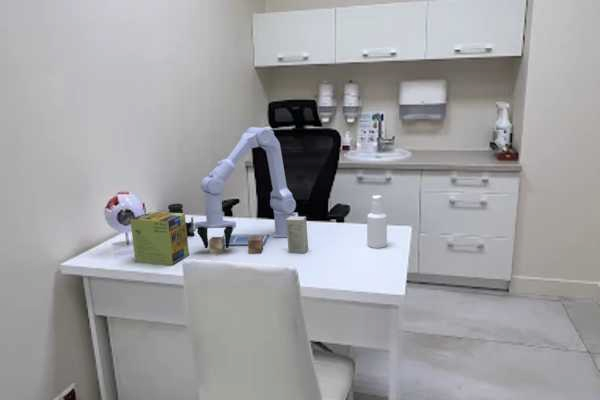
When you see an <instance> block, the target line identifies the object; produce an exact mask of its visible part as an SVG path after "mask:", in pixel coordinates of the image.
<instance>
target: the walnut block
mask: <svg viewBox="0 0 600 400" xmlns="http://www.w3.org/2000/svg"><path fill="white" fill-rule="evenodd" d="M247 247H248V248H247V249H248V254H250V255H261V254H263V251H264V246H263V236H250V238H249V239H248V246H247Z"/></svg>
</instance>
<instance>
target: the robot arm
mask: <svg viewBox="0 0 600 400" xmlns="http://www.w3.org/2000/svg"><path fill="white" fill-rule="evenodd" d="M259 147H260V148H262V149H263V150H265V152H266V158H267V163H268V169H269V175H270V180H271V186H272V191H271V192H270V200H269V201H270V202H269V205H270V207H271V209H273V216H274V217H273V218H274V233H273V236H272V237H273V238H287V226H286V219H287V218H289V217H290V216H297V217H299V213H298V212H294V211H295V210H296V207H297V203H296V200H295V199H294V197H293V193H292V192H291V191H290V190H289V188H288V186H287V180H286V179H287V178H286V174H285V169H284V161H283V155H282V149H281V144H280V141H279V140H278V138H277V137H276V136H275V132H274V130H272V129H270V128H268V127H258V126H257V127H256V126H250V127H248V128H247V129H246V131H245V132H244V133H243V134H242V136H241V138H240V140H239V141H238V143H237V144H236V146H235V147H234V148H233V150H232V151H231V152H230V154H228V156H227V158H225V159H224V158H223V159H221V160H218V161H217V163H216V164H217V165H216V166H215V167H214V169H213V170H212V171H210V172H209V173H208V176H205V177H204V178H203V179H202V180H201V184H200V186H199V187H200V189H201V190H202V191H203V196H204V206H205V216H206V220H205V221H196V222H194V228H195V229H196V233H197V235H198V236H199V238H201V241H202V243H203V246H204V248H205V249H207V248H209V240H208V239H209V238H208V229H224V230H223V233H224V234H223V235H225V240H226V246H225V249H228V248H229V247H230V246H229V243H230V237H231V235H233V234H232V233H233V231H234V229H235V228H237V222H236V221H230V220H224V217H223V205H222V194H221V193H222V192H223V190H224V184H225V182H226V181H227V180H228V179H229V177H230V176H231V175H232V174H233V173H234V171H235V170H236V167H235V166H236V164H237V163H238V162H239V160H240V159H242V157H243V156H244V155H245V154H246V153H247V152H248V151H249V150H250V149H254V148H259Z"/></svg>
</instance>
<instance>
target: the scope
mask: <svg viewBox="0 0 600 400" xmlns="http://www.w3.org/2000/svg"><path fill="white" fill-rule="evenodd" d="M183 207H184V206H183V204H182V203H172V204H169V205H168V206H167V208H168V213H184V210H183V209H184V208H183ZM194 224H195V222H194V217H193V216H192V217H190V221H189V222H186V230H187V238H189V237H193V236H195V232H197V229H195V227H194Z"/></svg>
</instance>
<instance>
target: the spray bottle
mask: <svg viewBox="0 0 600 400" xmlns="http://www.w3.org/2000/svg"><path fill="white" fill-rule="evenodd" d="M387 221H388V216H387V214H386V213H384V209H383V196H382V195H371V206H370V213H368V214H367V216H366V226H367V227H366V231H367V232H366V233H367V235H366V236H367V240H366V241H367V246H368V247H370V248H373V249H382V248H385V247H387V245H388V244H387V240H388V239H387V238H388V236H387V235H388V234H387V233H388V232H387V230H388V228H387V227H388V222H387Z"/></svg>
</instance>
